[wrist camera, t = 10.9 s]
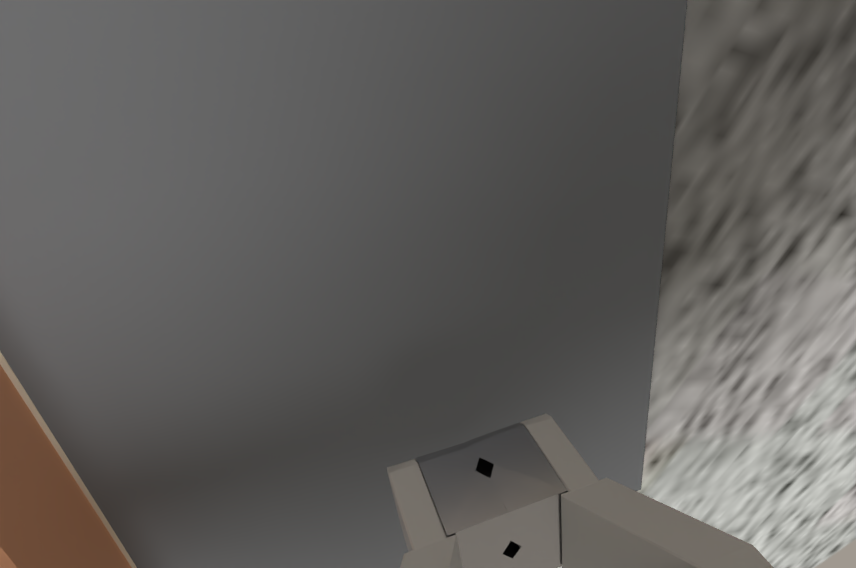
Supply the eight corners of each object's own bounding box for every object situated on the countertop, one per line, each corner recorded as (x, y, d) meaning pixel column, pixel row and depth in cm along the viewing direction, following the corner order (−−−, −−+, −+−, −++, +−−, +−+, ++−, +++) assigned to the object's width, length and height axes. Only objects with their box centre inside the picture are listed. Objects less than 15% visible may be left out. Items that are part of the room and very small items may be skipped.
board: (685, -197, 11) (707, -206, 11) (630, 477, 21) (641, 489, 21) (-1794, 23, 5) (-2014, 28, 5) (-254, 823, 15) (-271, 853, 15)
